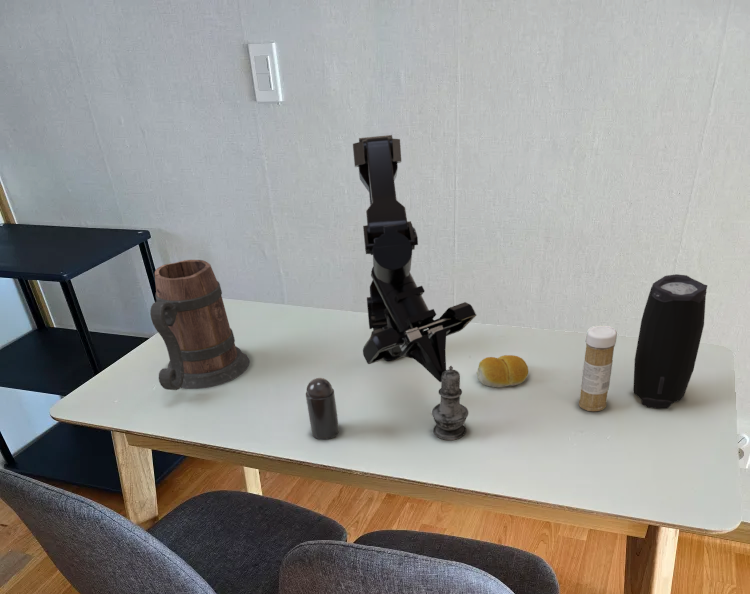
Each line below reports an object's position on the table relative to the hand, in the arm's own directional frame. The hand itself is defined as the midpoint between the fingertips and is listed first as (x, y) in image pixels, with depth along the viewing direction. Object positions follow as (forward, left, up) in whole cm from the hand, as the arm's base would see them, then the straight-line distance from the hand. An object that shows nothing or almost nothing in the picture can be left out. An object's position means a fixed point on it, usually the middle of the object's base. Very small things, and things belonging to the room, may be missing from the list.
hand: (443, 380), depth 109 cm
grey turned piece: (0, +1, -9) cm, 9 cm away
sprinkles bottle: (-23, +10, -9) cm, 27 cm away
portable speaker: (-33, +15, -9) cm, 38 cm away
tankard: (+25, -46, -9) cm, 53 cm away
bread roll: (-18, -7, -9) cm, 21 cm away
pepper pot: (+16, -12, -9) cm, 22 cm away
